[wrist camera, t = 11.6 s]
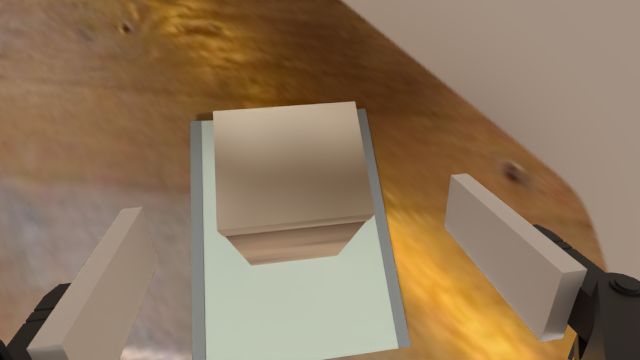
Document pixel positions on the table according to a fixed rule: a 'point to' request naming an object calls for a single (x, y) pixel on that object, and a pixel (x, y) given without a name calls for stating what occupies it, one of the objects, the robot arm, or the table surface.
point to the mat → (290, 283)
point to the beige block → (290, 180)
